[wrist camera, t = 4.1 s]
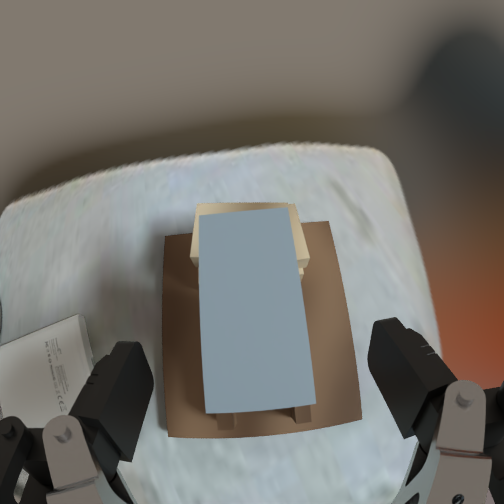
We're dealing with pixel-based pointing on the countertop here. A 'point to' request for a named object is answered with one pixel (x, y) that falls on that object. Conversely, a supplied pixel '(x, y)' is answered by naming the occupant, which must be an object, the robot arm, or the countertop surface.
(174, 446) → the countertop surface
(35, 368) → the external hard drive
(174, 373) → the walnut stand
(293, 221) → the birch offcut stack
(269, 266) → the slate-blue block
